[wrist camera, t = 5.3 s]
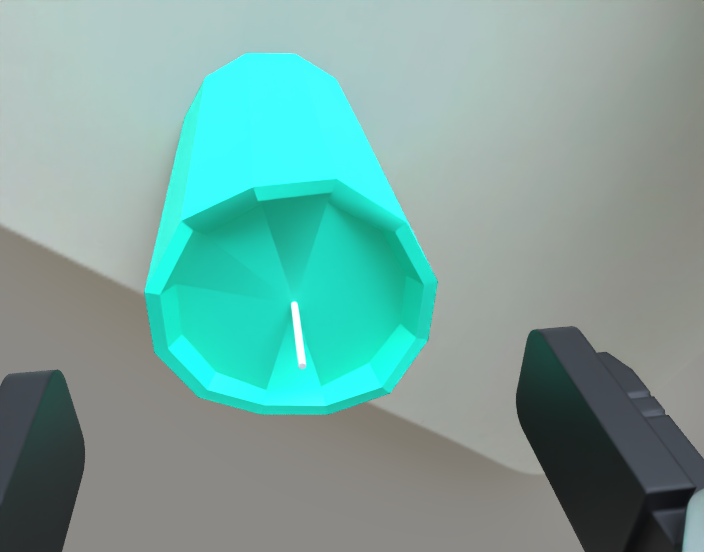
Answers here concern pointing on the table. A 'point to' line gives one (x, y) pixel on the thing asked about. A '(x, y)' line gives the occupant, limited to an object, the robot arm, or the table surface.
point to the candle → (284, 249)
